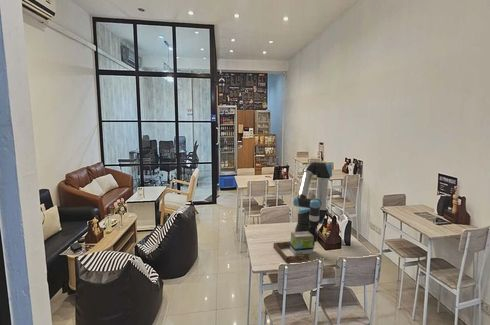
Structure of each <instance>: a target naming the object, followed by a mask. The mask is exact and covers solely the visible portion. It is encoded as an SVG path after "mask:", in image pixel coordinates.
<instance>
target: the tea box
mask: <svg viewBox="0 0 490 325" xmlns="http://www.w3.org/2000/svg"><path fill="white" fill-rule="evenodd" d="M290 241H291V243H290V248H289V249H290V251H291V253H292V254H293V256H295V255H303V254H309V255H311V254H313V252H314V249H313V242H314V236H313V235H312V234H311V233H310V232H309V231H304V232H295V231H292V232H290Z"/></svg>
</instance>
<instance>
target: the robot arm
mask: <svg viewBox="0 0 490 325" xmlns="http://www.w3.org/2000/svg"><path fill="white" fill-rule="evenodd" d="M301 175H302V177H301V181H300V184H299V189H298V192H297V196H294V198H293V201H292V202H293V206H295V207H297V208H298V209H297V223H296V226H295V228H294V232H304V231H309V232H310V233H311V234H312V235H313V236H314V242H313V250H315V246H316V245H315V244H316V242H317V241H318V236H319V233H320V231H319V230H318V227H319V226H320V225H324V224H323V221H324V217H325V215H326V214H327V213H329V214H330V211H328V208H327V207H326V206H327V198H328V185H329V180H330V179H331V178H332V177H333V166H332V164H331V163H328V162H318V161H317V162H315V161H313V162H309V163H308V164H306V165H305V166H304V168H303V170H302V172H301ZM313 176H316V179H317V187H316V188H317V190H316V198H314V199H313V198H308V193H309V189H310V185H311V181H312V178H313Z"/></svg>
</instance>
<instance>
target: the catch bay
mask: <svg viewBox="0 0 490 325" xmlns="http://www.w3.org/2000/svg"><path fill="white" fill-rule="evenodd" d="M290 243H291V240H288V241H280V242H273V249H274V250H275V251H276V253H277V254H278V255H279V256H280V257H281V258H282V260H283V261H284V262H285V263H293V262H301V261H309V260H310V254H299V255H289V256H287V254H285V253H284V251H283V250H282V248H288V247H290Z"/></svg>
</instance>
